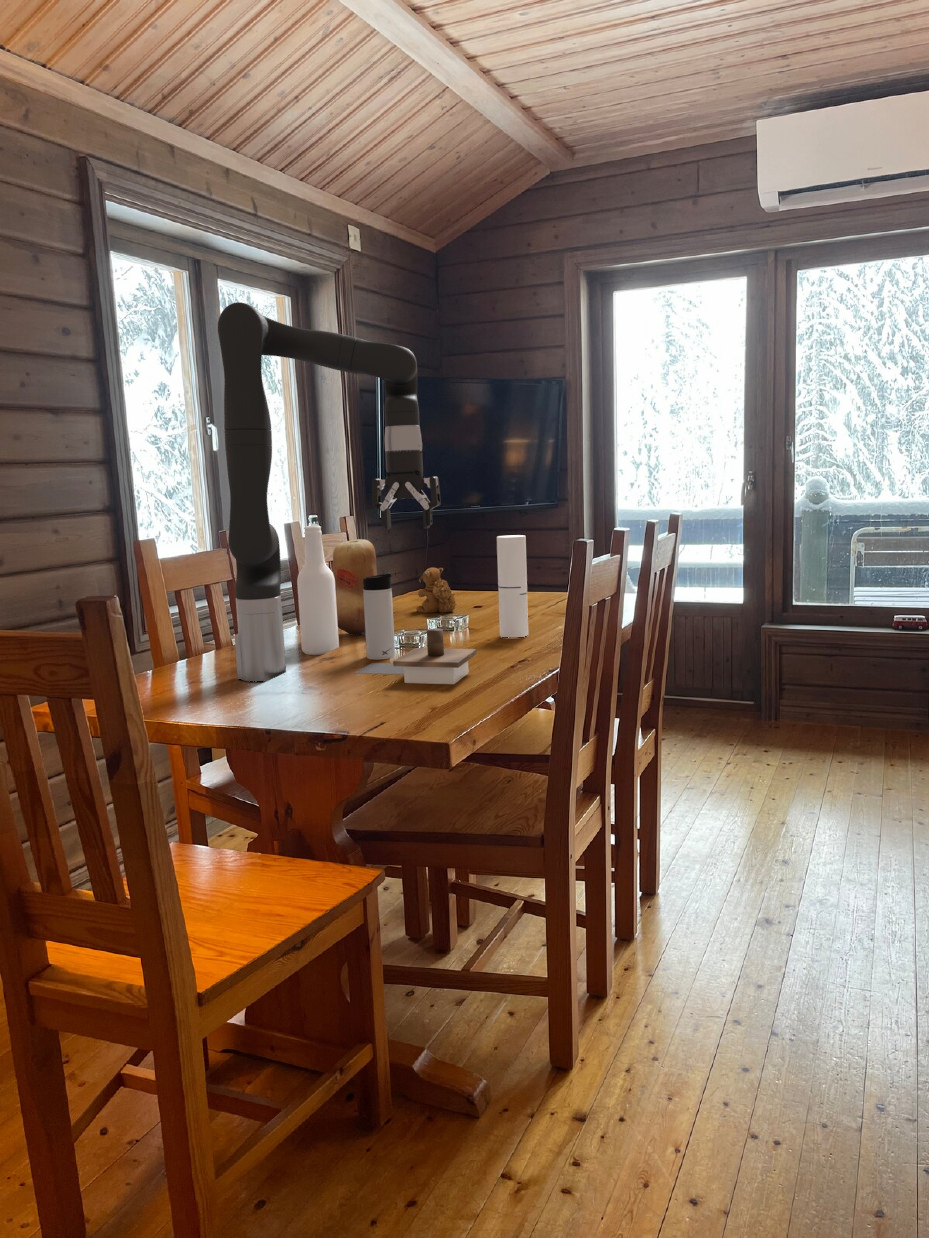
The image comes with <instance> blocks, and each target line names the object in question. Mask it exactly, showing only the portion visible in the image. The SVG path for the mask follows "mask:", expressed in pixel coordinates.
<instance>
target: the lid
mask: <svg viewBox="0 0 929 1238" xmlns="http://www.w3.org/2000/svg"><path fill="white" fill-rule="evenodd" d="M444 644H445V643H444V629H443V628H429V629H426V645H427V646H426V647H425V648H422V647H415V648H414V649H411V650H409V651H407V653H405V654H403V655H401V656H400V657H398V658H396V659H394V660H393V662H392V663H393V666H403V667H447V668H459V667H460V666H461V665H463V664H464V663H465V662H467V661H468V662H469V660H471V659H472V658H473V657H475V656H476V655H477V653H478V652H477V649H476V648H445V647H444Z"/></svg>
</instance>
